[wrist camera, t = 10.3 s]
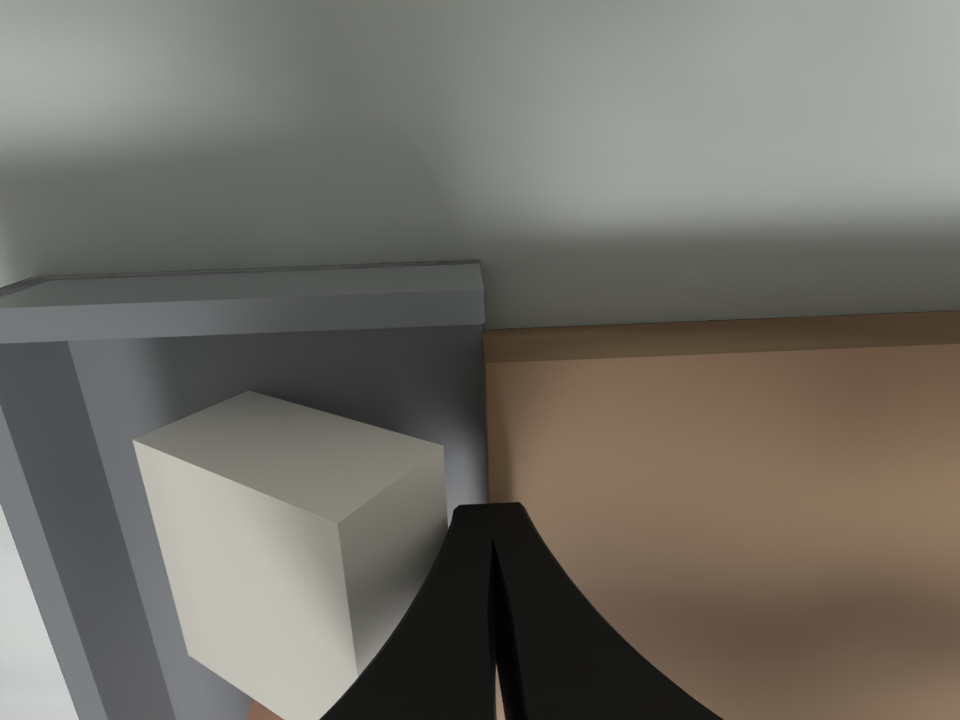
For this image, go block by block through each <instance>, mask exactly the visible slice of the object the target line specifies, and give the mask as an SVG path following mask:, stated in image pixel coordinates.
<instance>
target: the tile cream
mask: <svg viewBox="0 0 960 720" xmlns="http://www.w3.org/2000/svg"><path fill="white" fill-rule="evenodd" d="M133 444H134V448H135V452H136V456H137V460H138V463H139V467H140V471H141V475H142V479H143V483H144V487H145V490H146V494H147V498H148V502H149V506H150V510H151V513H152V517H153V521H154V525H155V529H156V533H157V537H158V540H159V544H160V548H161V552H162V556H163V560H164V563H165V567H166V571H167V575H168V579H169V583H170V586H171V590H172V594H173V598H174V602H175V606H176V610H177V613H178V617H179V621H180V625H181V629H182V633H183V636H184V640H185V644H186V648H187V652H188V655H189V656H191V657H192V658H194V659H195V660H197V661H198V662H200V663H201V664H203V665H204V666H205V667H207V668H208V669H210V670H211V671H213V672H214V673H216V674H217V675H219V676H220V677H222V678H223V679H225V680H226V681H228V682H229V683H231V684H232V685H234V686H235V687H237V688H238V689H240V690H241V691H243V692H244V693H246V694H247V695H249V696H250V697H252V698H253V699H254V700H256V701H257V702H259V703H260V704H262V705H263V706H265V707H266V708H268V709H269V710H271V711H272V712H274V713H275V714H277V715H278V716H280V717H281V718H283V719H284V720H319V719H320V718H321V717H322V716H323V715H324V714H325V713H326V712H327V711H328V710H329V709H330V708H331V707H332V706H333V705H334V704H335V703H336V702H337V701H338V700H339V699H340V698H341V696H342V695H343V694H344V693H345V692H346V691H347V690H348V689H349V687H350V686H351V685H352V684H353V683H354V682H355V680H356V679H357V678H358V677H359V675H360V674H361V673H362V672H363V671H364V669H365V668H366V667H367V666H368V664H369V663H370V662H371V661H372V659H373V658H374V657H375V656H376V654H377V653H378V652H379V650H380V649H381V648H382V646H383V645H384V644H385V642H386V641H387V640H388V638H389V637H390V635H391V634H392V633H393V631H394V630H395V628H396V627H397V625H398V624H399V622H400V621H401V619H402V618H403V616H404V615H405V613H406V611H407V610H408V608H409V606H410V605H411V603H412V601H413V600H414V598H415V596H416V595H417V593H418V591H419V589H420V588H421V586H422V584H423V583H424V581H425V579H426V577H427V575H428V573H429V571H430V569H431V567H432V565H433V563H434V561H435V559H436V557H437V555H438V553H439V551H440V549H441V546H442V544H443V541H444V539H445V537H446V534H447V531H448V518H447V501H446V484H445V466H444V449H443V445H439V444H436V443H432V442H429V441H425V440H422V439H418V438H415V437H411V436H408V435H404V434H401V433H397V432H394V431H390V430H387V429H383V428H380V427H376V426H373V425H369V424H366V423H362V422H359V421H355V420H351V419H348V418H344V417H341V416H337V415H334V414H330V413H327V412H323V411H320V410H316V409H313V408H309V407H306V406H302V405H299V404H295V403H292V402H288V401H285V400H281V399H278V398H274V397H271V396H267V395H264V394H260V393H257V392H253V391H250V390H249V391H246V392H244V393H242V394H239V395H237V396H234V397H232V398H230V399H227V400H225V401H223V402H220V403H218V404H216V405H213V406H211V407H209V408H206V409H204V410H201V411H199V412H197V413H194V414H192V415H190V416H187V417H185V418H183V419H180V420H178V421H175V422H173V423H171V424H168V425H166V426H164V427H161V428H159V429H157V430H154V431H152V432H150V433H147V434H145V435H142V436H140V437H138V438H135V439H133Z"/></svg>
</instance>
